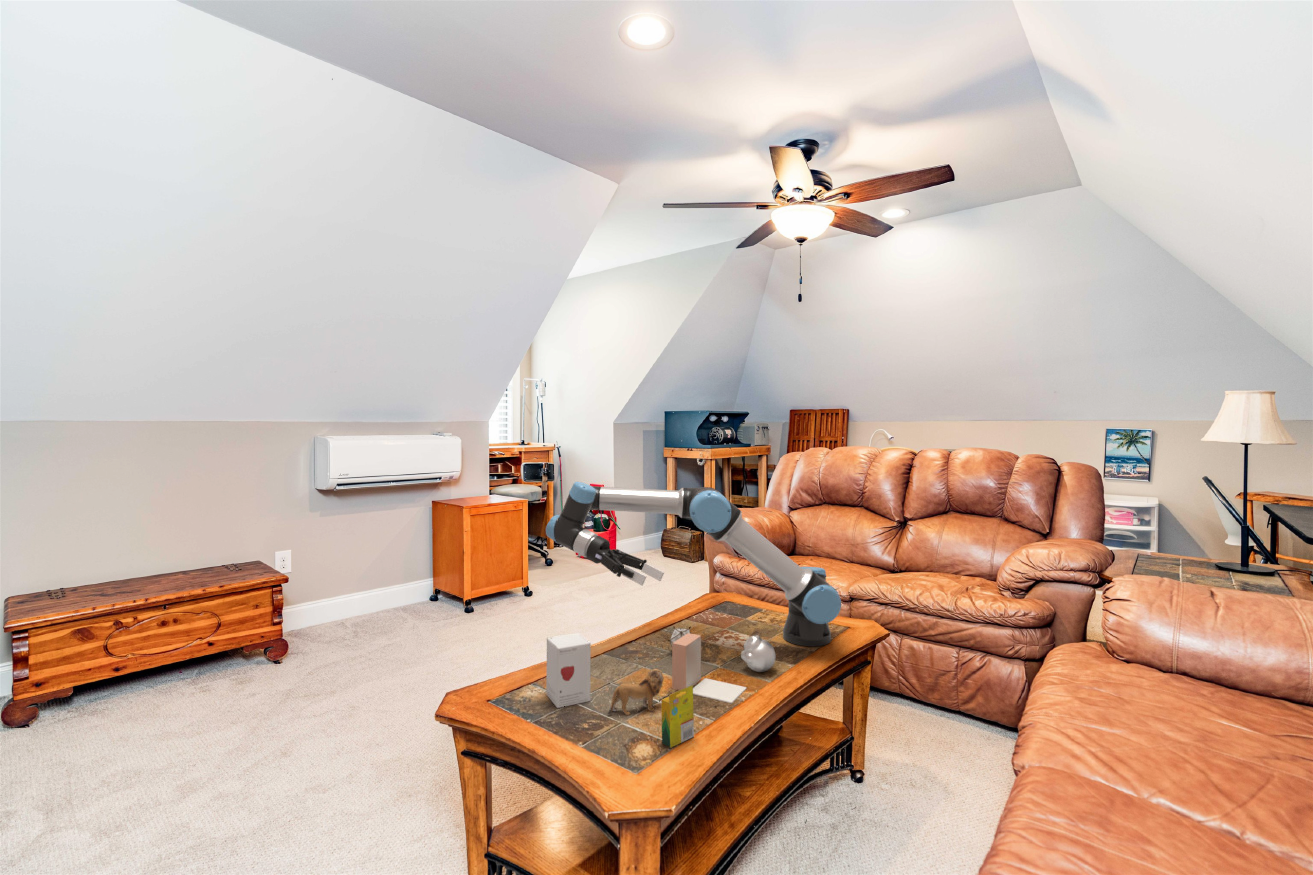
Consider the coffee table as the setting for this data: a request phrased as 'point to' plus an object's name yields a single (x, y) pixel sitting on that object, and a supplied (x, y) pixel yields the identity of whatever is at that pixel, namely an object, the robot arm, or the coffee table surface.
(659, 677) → the lion figurine
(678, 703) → the crayon box
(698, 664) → the peach rectangular block
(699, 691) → the felt mat
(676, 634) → the game die
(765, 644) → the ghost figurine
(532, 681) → the coffee table surface
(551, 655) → the supplement box
